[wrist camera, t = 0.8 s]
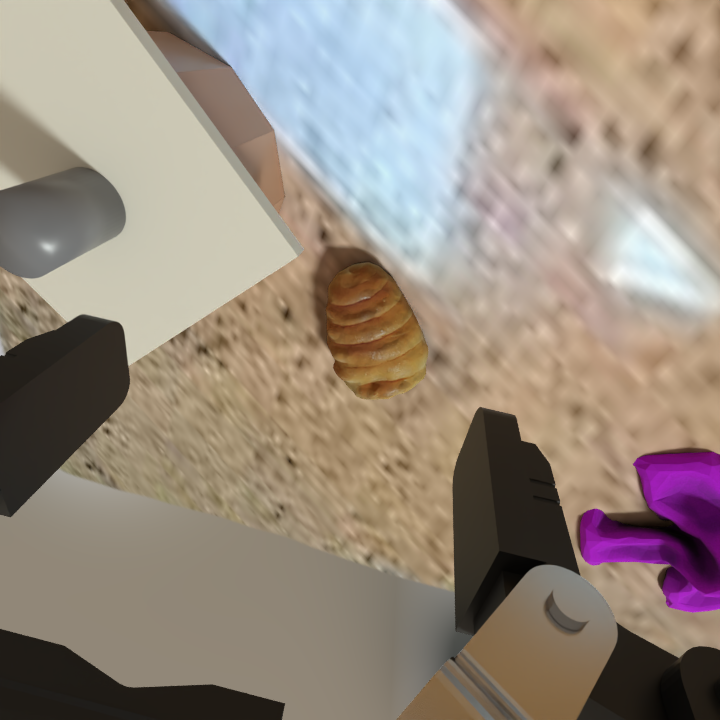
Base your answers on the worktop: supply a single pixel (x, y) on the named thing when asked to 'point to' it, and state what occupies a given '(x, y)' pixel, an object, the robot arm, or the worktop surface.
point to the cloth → (669, 528)
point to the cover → (120, 177)
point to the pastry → (373, 333)
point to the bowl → (228, 111)
